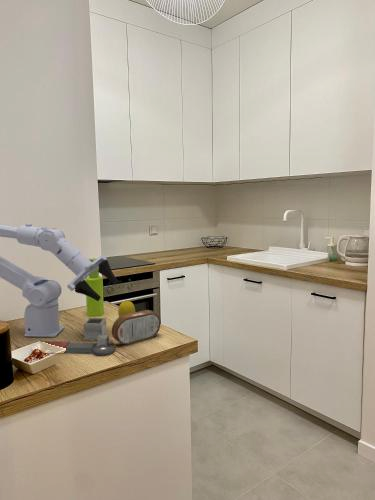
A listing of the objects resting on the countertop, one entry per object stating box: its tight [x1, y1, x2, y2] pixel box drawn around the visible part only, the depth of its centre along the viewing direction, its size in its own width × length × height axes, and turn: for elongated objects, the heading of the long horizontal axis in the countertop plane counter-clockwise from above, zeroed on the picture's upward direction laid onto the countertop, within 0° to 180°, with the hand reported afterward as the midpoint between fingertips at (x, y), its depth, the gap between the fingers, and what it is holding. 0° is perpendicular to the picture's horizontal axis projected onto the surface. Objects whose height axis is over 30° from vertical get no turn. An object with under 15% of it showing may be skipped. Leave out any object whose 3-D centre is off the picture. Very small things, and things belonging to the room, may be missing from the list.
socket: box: [83, 317, 108, 341], centre depth 109 cm, size 5×5×5 cm
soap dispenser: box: [85, 258, 105, 317], centre depth 129 cm, size 6×7×20 cm
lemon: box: [117, 299, 136, 318], centre depth 121 cm, size 6×6×8 cm
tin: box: [111, 309, 161, 345], centre depth 107 cm, size 15×3×8 cm, turn 126°
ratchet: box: [40, 334, 116, 357], centre depth 100 cm, size 21×6×4 cm, turn 88°
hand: (108, 291), depth 109 cm, fingers open, 7 cm apart
